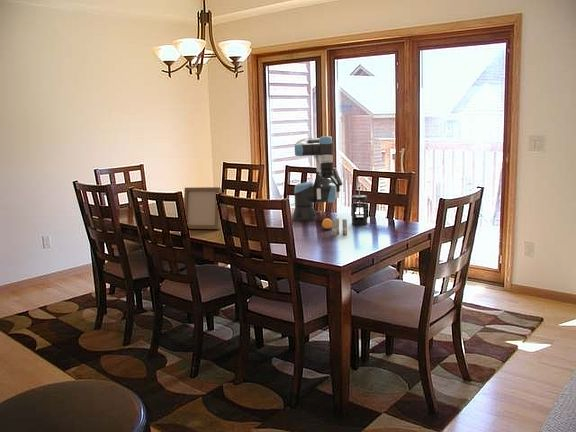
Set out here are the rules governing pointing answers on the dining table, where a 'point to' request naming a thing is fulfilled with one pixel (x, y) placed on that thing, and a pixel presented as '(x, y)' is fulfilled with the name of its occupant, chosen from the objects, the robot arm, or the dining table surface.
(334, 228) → the pin
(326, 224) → the ball
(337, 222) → the pin front
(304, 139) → the robot arm
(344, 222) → the pin
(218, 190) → the photo frame
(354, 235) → the dining table surface
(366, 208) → the french press
